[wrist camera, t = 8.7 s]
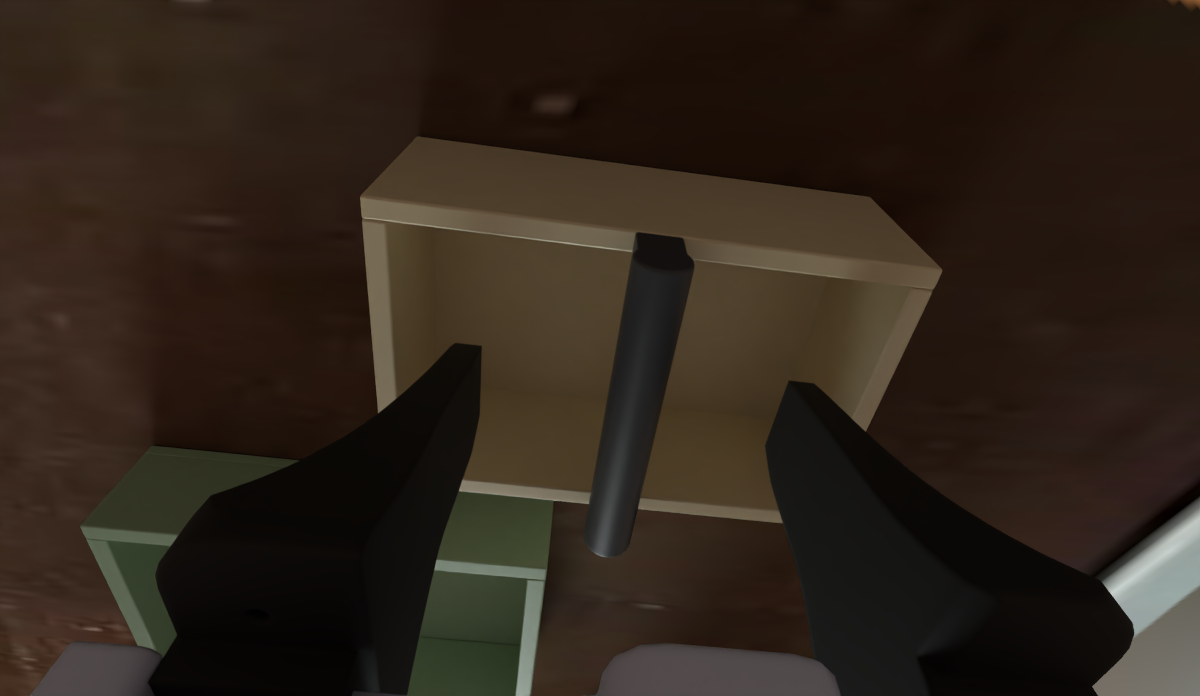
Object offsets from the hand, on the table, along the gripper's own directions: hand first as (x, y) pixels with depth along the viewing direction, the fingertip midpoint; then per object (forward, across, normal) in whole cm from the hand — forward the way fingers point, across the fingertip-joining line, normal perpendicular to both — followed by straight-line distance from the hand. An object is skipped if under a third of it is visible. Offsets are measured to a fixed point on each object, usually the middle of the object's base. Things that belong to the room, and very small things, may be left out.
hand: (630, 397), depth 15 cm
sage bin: (+5, +8, +13) cm, 16 cm away
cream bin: (+5, 0, 0) cm, 5 cm away
